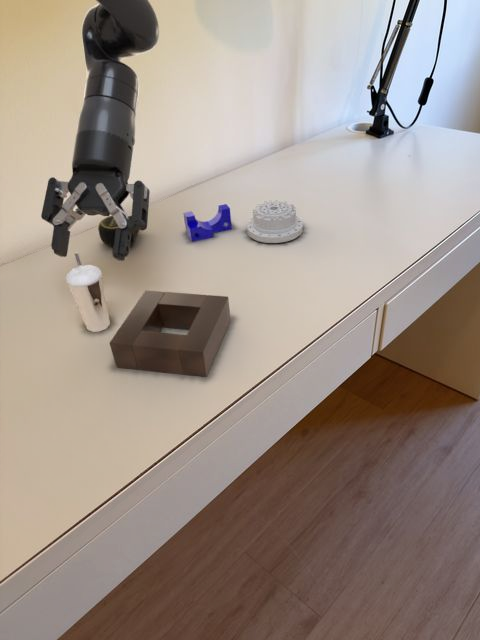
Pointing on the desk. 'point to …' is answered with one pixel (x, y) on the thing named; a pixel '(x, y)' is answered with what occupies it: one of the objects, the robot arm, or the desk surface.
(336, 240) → the desk surface
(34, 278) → the desk surface
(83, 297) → the milkshake
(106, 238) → the tape measure
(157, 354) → the socket block
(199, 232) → the cable holder
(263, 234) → the mechanical component
